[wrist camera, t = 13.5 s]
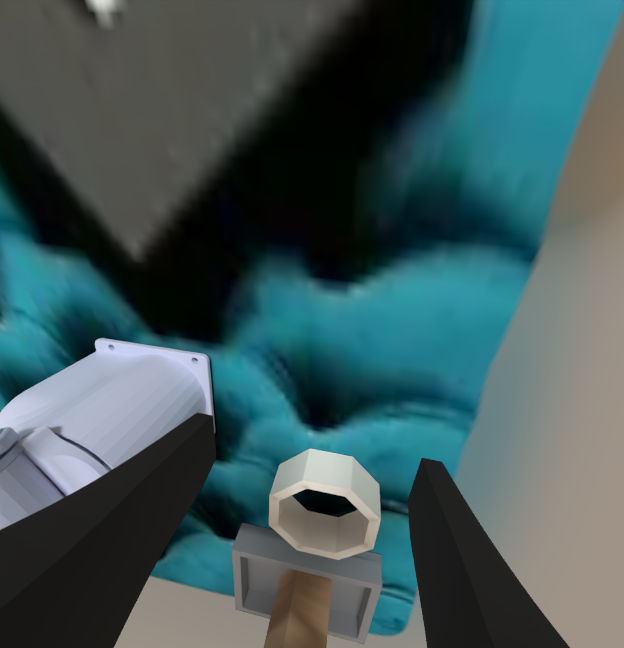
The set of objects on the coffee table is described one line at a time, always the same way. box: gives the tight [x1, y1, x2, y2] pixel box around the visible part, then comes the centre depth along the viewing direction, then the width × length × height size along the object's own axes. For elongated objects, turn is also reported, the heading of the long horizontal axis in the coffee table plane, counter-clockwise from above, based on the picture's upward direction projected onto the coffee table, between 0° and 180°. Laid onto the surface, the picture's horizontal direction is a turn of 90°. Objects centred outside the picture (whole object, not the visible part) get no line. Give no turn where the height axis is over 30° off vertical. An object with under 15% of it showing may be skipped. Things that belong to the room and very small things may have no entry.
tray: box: [232, 523, 382, 644], centre depth 29 cm, size 14×11×2 cm
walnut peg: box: [264, 569, 332, 648], centre depth 26 cm, size 4×4×9 cm
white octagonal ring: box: [269, 449, 381, 560], centre depth 24 cm, size 9×9×3 cm
